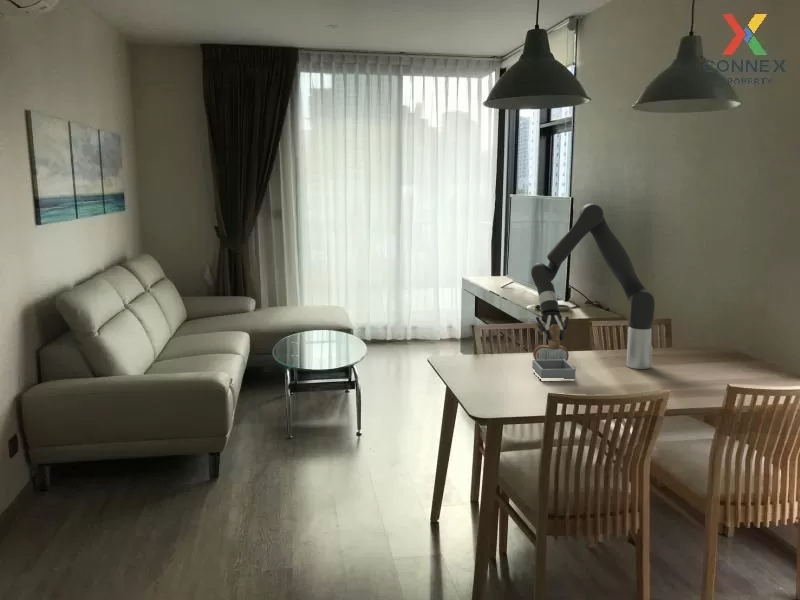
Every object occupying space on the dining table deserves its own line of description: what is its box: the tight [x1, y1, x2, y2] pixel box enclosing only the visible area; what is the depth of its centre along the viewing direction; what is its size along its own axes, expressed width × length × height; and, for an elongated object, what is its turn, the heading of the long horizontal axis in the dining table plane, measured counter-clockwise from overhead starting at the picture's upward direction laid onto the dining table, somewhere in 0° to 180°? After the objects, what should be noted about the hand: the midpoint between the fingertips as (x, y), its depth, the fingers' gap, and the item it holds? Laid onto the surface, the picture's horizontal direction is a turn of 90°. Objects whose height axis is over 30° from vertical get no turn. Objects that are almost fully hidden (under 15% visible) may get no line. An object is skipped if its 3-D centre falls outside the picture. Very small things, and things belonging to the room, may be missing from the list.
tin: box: [532, 344, 570, 362], centre depth 276 cm, size 15×3×8 cm, turn 84°
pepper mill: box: [547, 324, 561, 350], centre depth 256 cm, size 4×4×10 cm
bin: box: [531, 359, 576, 380], centre depth 258 cm, size 14×15×5 cm
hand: (555, 339), depth 254 cm, fingers closed on pepper mill, 4 cm apart
